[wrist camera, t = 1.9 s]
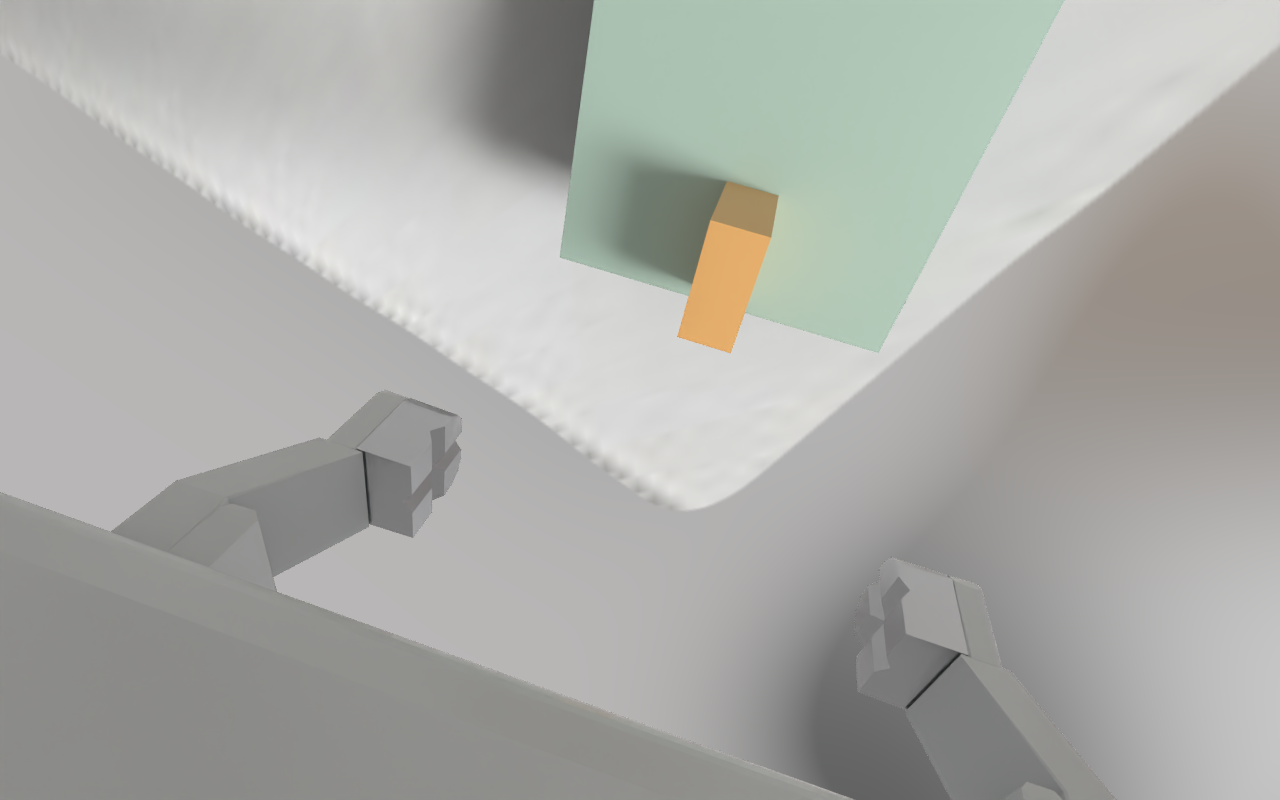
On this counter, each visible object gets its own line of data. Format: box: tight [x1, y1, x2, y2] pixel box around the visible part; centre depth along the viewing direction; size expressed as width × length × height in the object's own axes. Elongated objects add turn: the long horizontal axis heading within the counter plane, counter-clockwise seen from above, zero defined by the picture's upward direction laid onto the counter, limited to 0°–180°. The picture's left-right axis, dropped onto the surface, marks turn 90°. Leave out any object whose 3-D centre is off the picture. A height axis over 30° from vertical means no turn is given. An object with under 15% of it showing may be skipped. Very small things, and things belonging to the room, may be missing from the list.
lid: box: [560, 0, 1065, 353], centre depth 18 cm, size 13×15×6 cm
